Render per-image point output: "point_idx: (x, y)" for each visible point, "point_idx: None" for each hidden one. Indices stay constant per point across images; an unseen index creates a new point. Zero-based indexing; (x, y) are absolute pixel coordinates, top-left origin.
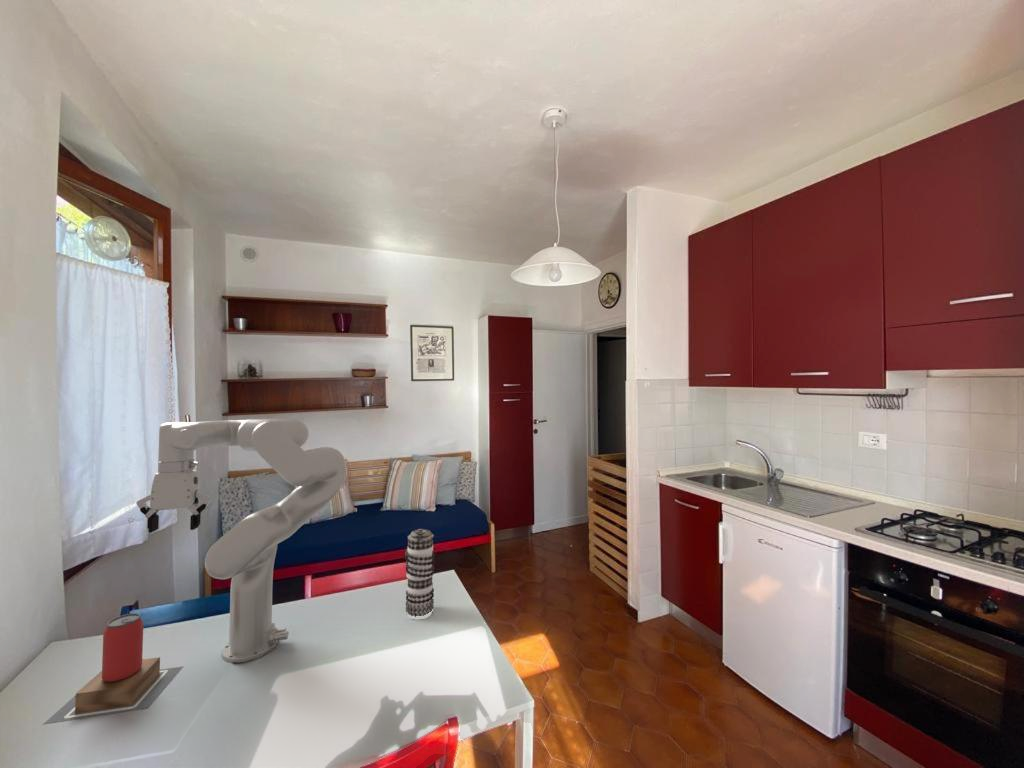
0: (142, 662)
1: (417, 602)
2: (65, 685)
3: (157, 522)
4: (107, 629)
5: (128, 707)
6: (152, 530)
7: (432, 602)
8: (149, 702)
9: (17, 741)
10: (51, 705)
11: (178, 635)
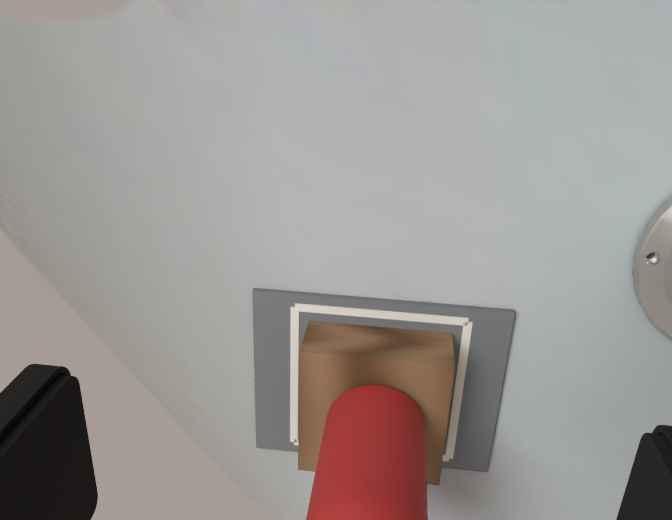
0: (408, 377)
1: None
2: (182, 289)
3: (14, 477)
4: None
5: None
6: (85, 506)
7: None
8: (480, 450)
9: (239, 473)
10: (215, 371)
11: (402, 50)
